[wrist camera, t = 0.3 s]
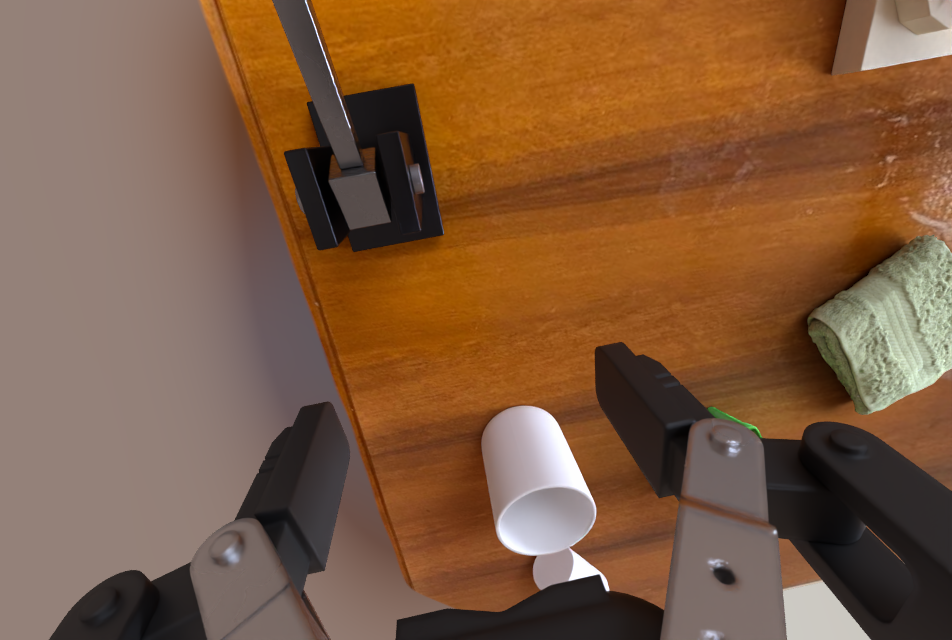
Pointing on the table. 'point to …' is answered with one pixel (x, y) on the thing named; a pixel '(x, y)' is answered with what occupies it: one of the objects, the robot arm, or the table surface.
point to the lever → (336, 122)
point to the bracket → (403, 163)
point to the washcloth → (890, 326)
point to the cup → (534, 483)
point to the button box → (892, 33)
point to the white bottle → (562, 568)
